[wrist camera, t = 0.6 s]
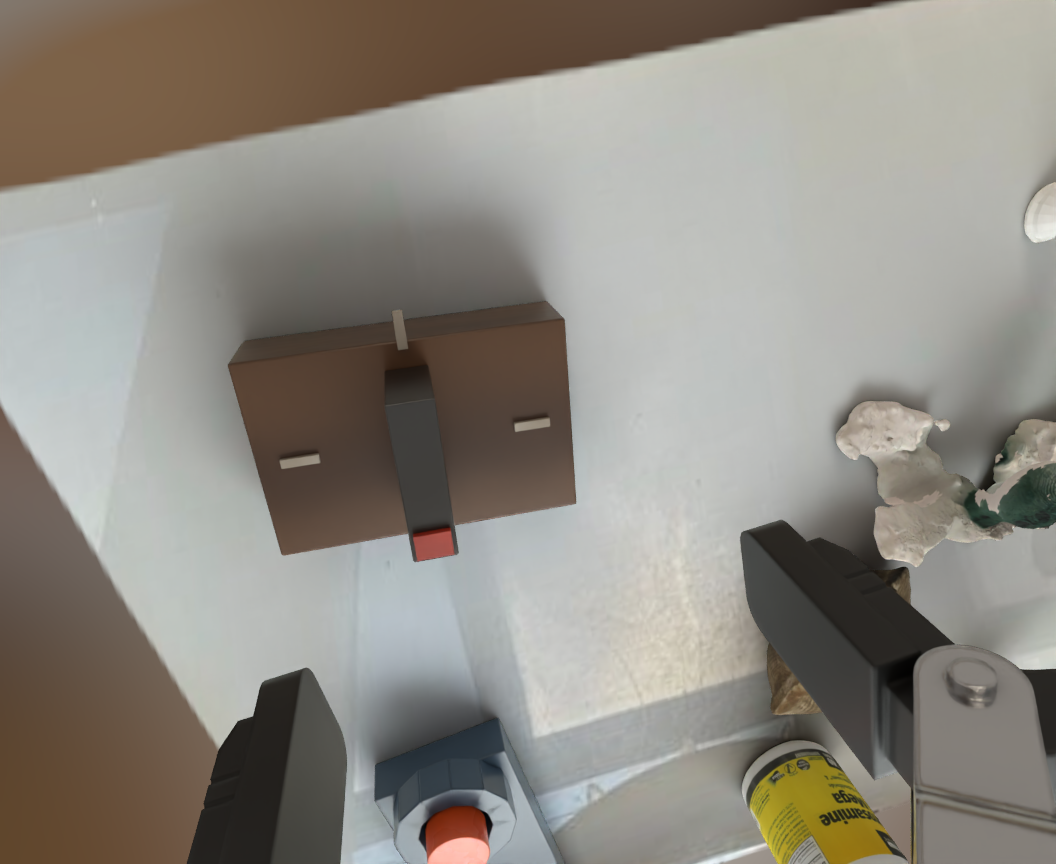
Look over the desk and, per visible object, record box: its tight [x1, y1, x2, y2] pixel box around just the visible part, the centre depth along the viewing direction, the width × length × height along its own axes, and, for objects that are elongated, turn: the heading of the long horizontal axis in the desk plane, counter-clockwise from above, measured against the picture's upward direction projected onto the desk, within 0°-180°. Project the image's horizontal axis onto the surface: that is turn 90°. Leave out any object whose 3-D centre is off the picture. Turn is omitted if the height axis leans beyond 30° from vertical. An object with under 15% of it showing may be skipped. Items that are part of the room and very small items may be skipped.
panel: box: [228, 301, 576, 555], centre depth 27 cm, size 10×12×3 cm
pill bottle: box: [742, 740, 909, 864], centre depth 38 cm, size 6×6×11 cm
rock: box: [836, 401, 1056, 567], centre depth 33 cm, size 15×8×8 cm
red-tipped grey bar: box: [384, 365, 459, 562], centre depth 24 cm, size 6×2×4 cm, turn 5°
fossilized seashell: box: [767, 567, 911, 715], centre depth 36 cm, size 8×7×10 cm
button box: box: [374, 718, 565, 864], centre depth 38 cm, size 18×7×4 cm, turn 17°
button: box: [425, 806, 490, 864], centre depth 33 cm, size 3×3×2 cm
